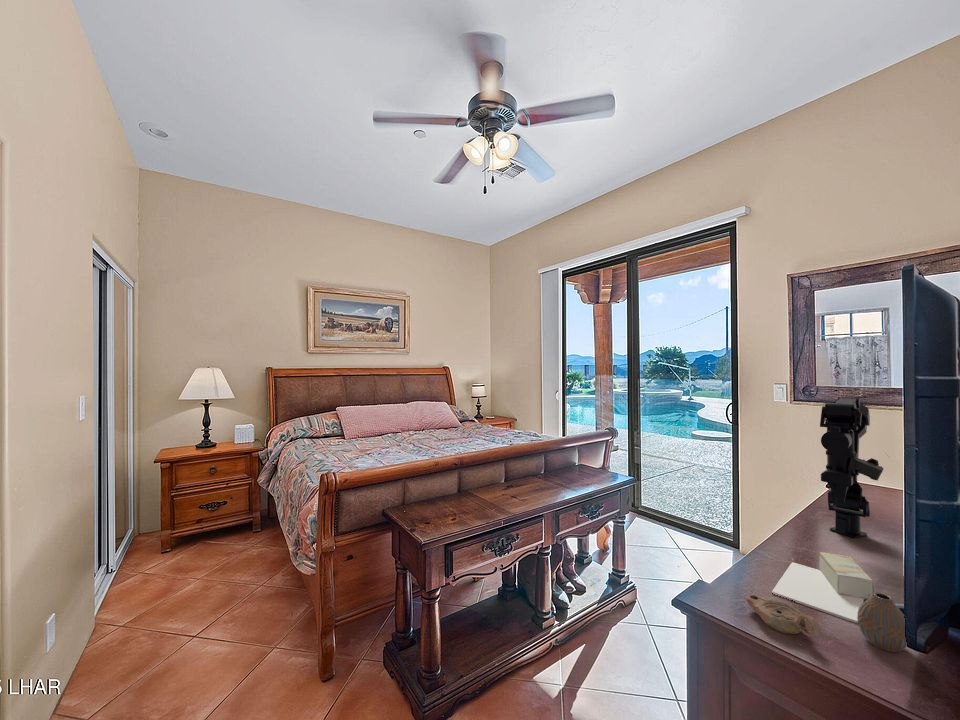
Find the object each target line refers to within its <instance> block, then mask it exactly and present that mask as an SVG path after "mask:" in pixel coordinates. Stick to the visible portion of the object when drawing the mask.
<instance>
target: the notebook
mask: <svg viewBox="0 0 960 720" xmlns="http://www.w3.org/2000/svg"><path fill="white" fill-rule="evenodd" d="M772 593H773V594H772ZM771 594H772V595H774V594H775V596H777V595H778V597H780V596H781V597H780V598H783V597H784V598H783V599H786V598H787V599H786V600H788V599H789V600H788V601H791V600H793V601H792V602H794V601H795V602H794V603H797V604H800V605H803V606H806V607H808V608H811V609H814V610H817V611H820V612H824V613H827V614H829V615H831V616H833V617H834V616H835V617H837V618H840V619H843V620H846V621H849V622H852V623H855V624H857V625H858V620H857V613H858V609H859V607H860V605H861V604H862V603H863V602H865V599H863V598H857V597H852V596H847V595H842V594H838V593H837V591H836V590H835V589H834V587H833V586H832V584H831V583H830V582H829V580H828V579H827V578H826V576H825V575H824V574H823V572H822V571H821V570H820V569H817V568H813V567H810V566H808V565H804V564H800V563H796V562H793V561H792V562H791V563H790V564H789V566H788V567H787V569H786V570H785V572H784V573H783V575H782V576H781V577H780V579H779V581H778V582H777V583H776V585H775V586H774V588H773V589H772V591H771Z"/></svg>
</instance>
